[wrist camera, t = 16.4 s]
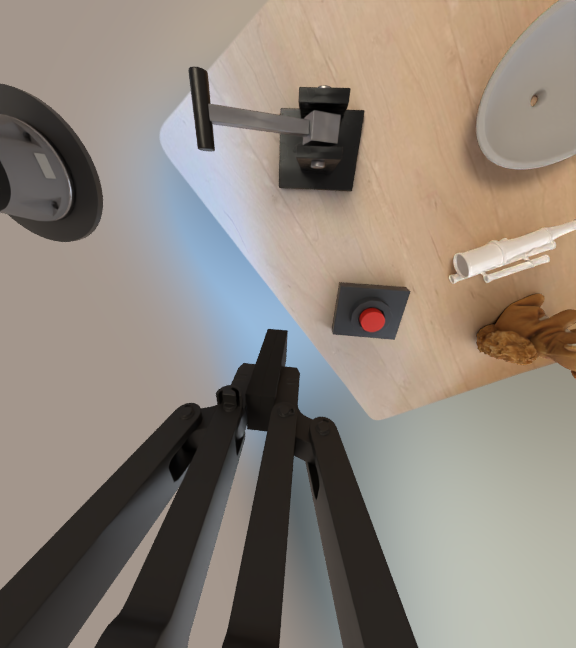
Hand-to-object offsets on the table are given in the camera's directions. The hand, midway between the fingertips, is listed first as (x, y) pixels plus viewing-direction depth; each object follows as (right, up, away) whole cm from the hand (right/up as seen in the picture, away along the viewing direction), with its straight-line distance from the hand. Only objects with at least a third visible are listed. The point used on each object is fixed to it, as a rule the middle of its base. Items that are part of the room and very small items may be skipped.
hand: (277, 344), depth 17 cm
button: (+16, +3, +23) cm, 28 cm away
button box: (+16, +5, +26) cm, 31 cm away
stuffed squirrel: (+42, +2, +25) cm, 49 cm away
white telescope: (+35, +14, +19) cm, 42 cm away
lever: (-1, +21, +4) cm, 21 cm away
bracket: (+5, +27, +15) cm, 31 cm away
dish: (+31, +30, +11) cm, 44 cm away
